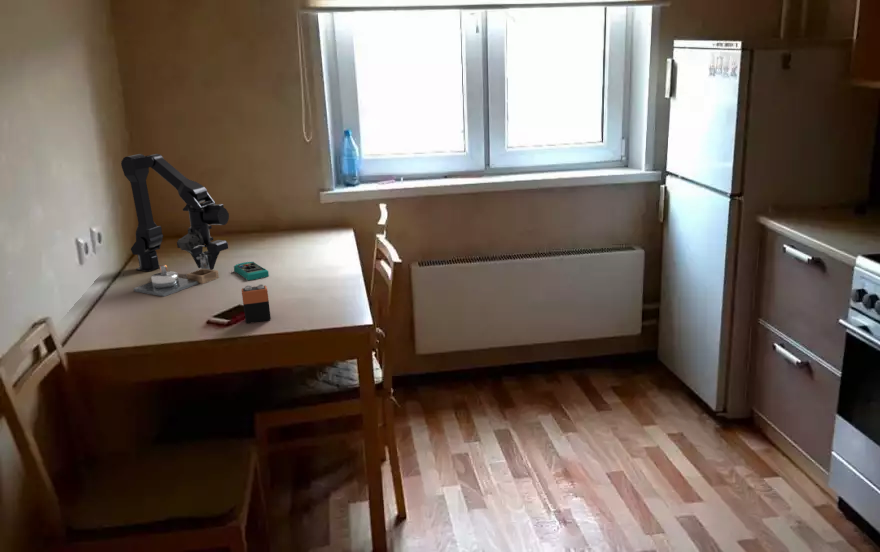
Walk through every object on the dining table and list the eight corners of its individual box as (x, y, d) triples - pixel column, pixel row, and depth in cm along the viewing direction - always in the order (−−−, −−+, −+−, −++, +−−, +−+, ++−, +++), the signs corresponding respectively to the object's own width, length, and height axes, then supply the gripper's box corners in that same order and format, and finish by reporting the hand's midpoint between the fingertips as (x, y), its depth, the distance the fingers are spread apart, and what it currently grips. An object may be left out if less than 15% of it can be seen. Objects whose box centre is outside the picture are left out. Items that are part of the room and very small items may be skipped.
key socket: (187, 281, 256) (186, 274, 255) (204, 275, 261) (203, 268, 260) (202, 283, 252) (201, 276, 251) (218, 277, 258) (217, 270, 257)
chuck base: (133, 291, 248) (133, 288, 248) (168, 278, 259) (168, 276, 259) (163, 296, 241) (163, 293, 241) (198, 283, 252) (197, 280, 252)
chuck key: (196, 275, 262) (193, 255, 260) (210, 270, 267) (207, 250, 265) (202, 276, 261) (199, 256, 259) (216, 271, 266) (213, 251, 264)
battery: (245, 319, 217) (240, 285, 215) (269, 315, 219) (265, 281, 216) (245, 324, 213) (241, 289, 211) (271, 320, 215) (266, 286, 212)
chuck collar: (179, 285, 248) (176, 267, 246) (153, 289, 245) (150, 271, 243) (177, 272, 262) (174, 255, 260) (152, 276, 259) (149, 259, 257)
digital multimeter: (254, 268, 269) (253, 260, 268) (269, 277, 257) (268, 269, 256) (233, 272, 265) (232, 264, 264) (248, 282, 253) (247, 273, 252)
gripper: (160, 227, 257) (168, 272, 262) (200, 231, 248) (207, 278, 252) (187, 219, 266) (193, 263, 271) (226, 223, 257) (232, 269, 261)
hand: (205, 268), depth 264 cm, fingers open, 5 cm apart
